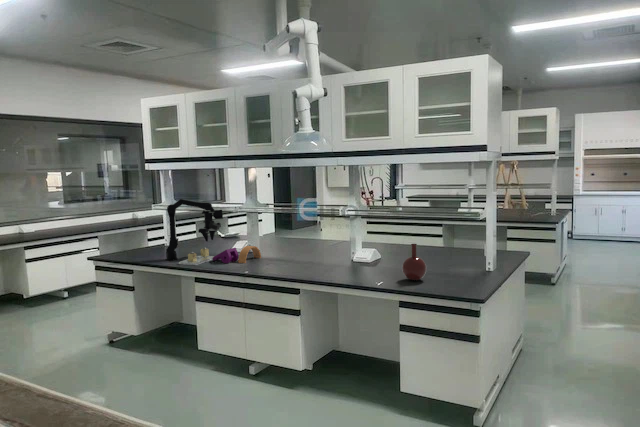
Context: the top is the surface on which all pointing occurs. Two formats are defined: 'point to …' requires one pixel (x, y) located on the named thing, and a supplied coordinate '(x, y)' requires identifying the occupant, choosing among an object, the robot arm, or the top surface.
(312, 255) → the top surface
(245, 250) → the arch
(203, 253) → the sliding leg
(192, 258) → the fixed leg
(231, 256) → the mounting bracket
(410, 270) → the round-bottom flask
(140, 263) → the top surface
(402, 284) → the top surface
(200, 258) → the pitch plate
